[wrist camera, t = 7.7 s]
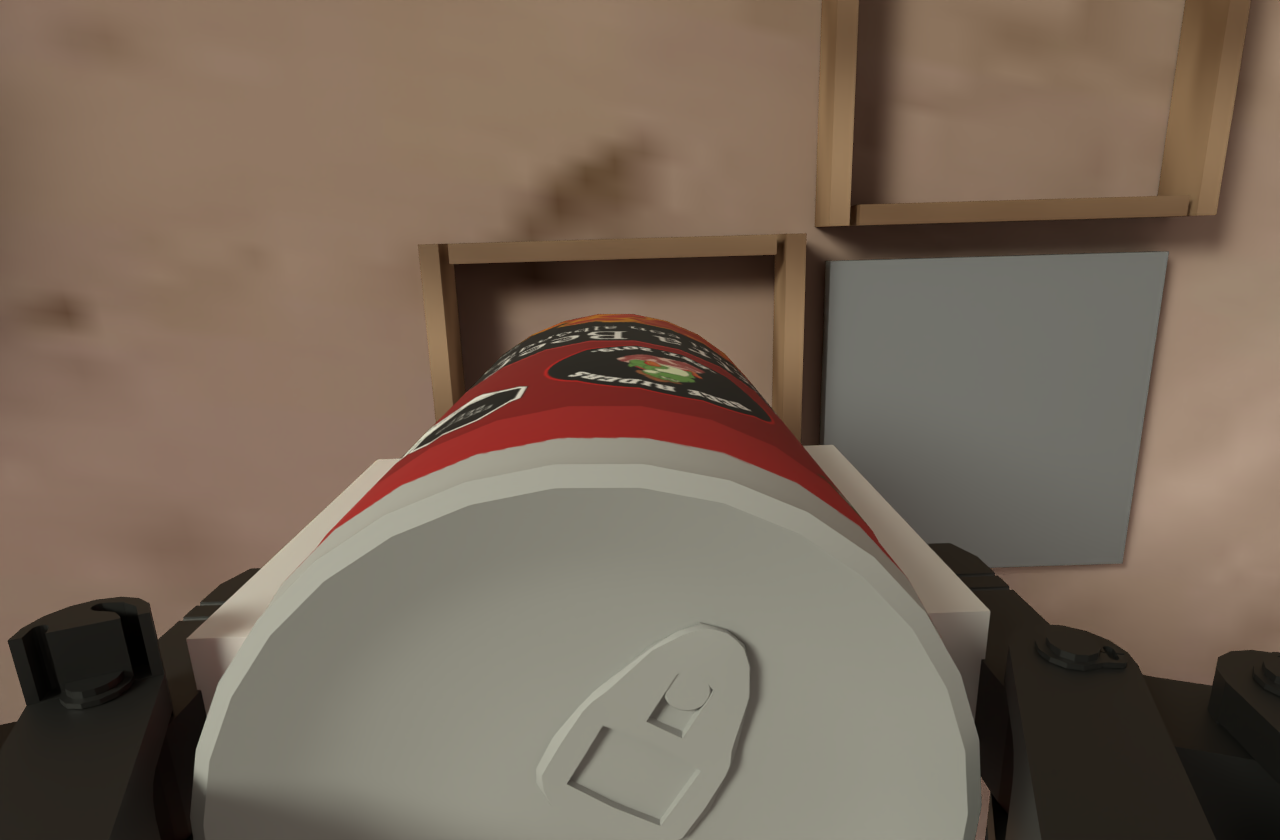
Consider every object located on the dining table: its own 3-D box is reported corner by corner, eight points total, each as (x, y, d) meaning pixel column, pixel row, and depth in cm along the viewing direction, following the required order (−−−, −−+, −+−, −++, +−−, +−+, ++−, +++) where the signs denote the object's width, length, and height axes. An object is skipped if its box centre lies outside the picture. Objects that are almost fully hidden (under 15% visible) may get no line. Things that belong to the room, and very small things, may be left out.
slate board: (825, 260, 24) (831, 261, 23) (1155, 251, 24) (1168, 251, 23) (815, 565, 26) (819, 573, 26) (1111, 556, 27) (1122, 563, 26)
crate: (433, 244, 23) (417, 244, 22) (793, 233, 24) (806, 233, 22) (465, 574, 26) (453, 598, 25) (785, 564, 26) (796, 587, 25)
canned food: (809, 349, 17) (1126, 563, 6) (719, 643, 19) (840, 1187, 8) (486, 271, 16) (217, 357, 6) (428, 583, 18) (149, 1086, 8)
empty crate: (828, -198, 21) (846, -239, 19) (1236, -209, 21) (1291, -249, 19) (814, 226, 24) (829, 226, 22) (1172, 216, 24) (1215, 214, 22)
